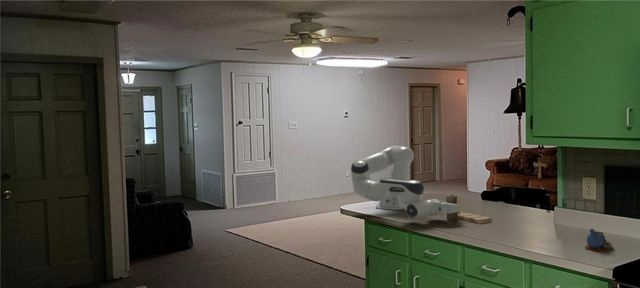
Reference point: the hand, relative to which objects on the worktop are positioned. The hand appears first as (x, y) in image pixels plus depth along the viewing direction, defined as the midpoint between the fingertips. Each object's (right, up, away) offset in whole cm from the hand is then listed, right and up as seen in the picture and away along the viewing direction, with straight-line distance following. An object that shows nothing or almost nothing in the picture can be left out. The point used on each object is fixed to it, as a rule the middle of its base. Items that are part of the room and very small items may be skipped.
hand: (453, 204), depth 294 cm
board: (+9, -8, -1) cm, 12 cm away
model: (+45, -11, -69) cm, 83 cm away
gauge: (+1, -8, +1) cm, 8 cm away
